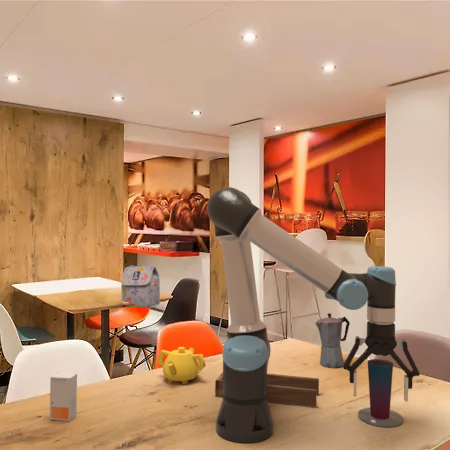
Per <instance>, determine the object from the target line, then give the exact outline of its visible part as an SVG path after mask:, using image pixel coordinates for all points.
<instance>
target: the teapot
mask: <svg viewBox="0 0 450 450" xmlns="http://www.w3.org/2000/svg"><path fill="white" fill-rule="evenodd" d="M195 351H196V349H195V348H193V347H189V349H186V347H184V346H179V347H177V349H174V350H171V351H169V350H165V349H161V350H160V352H159V355H158V358H157V364H159V366H160V367H161V368H162V373H163V375H164V376H165V377H166V378H167V382H168V383H174V382H175V381H176V382H181V384H182V385H188V384H189V381H191V380H194V379H196V377H197V376H198V375H199V374H200V372H201V371H202V370H204V369H205V367H207V365H206V361H205V359H204V354H202V353H199V354H197V353H196V354H195ZM165 357H166V358H165Z"/></svg>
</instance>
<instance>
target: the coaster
mask: <svg viewBox="0 0 450 450" xmlns="http://www.w3.org/2000/svg"><path fill="white" fill-rule="evenodd" d="M357 417H358V419H360V421H362V422H363V423H365V424H367V425H370V426H374V427H377V428H378V427H379V428H395V427H399V426H402V425H403V423H404V418H403V416H402V414H400V413H398V412H397V411H393V410H391V409H390V415H389V418H388V419H376V418H374V417H372V416H371V412H370V407H364V408H361V409H360V410H359V411H358V412H357Z"/></svg>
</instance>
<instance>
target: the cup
mask: <svg viewBox="0 0 450 450" xmlns="http://www.w3.org/2000/svg"><path fill="white" fill-rule="evenodd" d="M393 369H394V362H392V361H390V360H387V359H381V358H372V359H368V360H367V374H368V392H369V394H368V395H369V408H370V412H371V416H372V417H374V418H376V419H388V418H389V415H390V410H391V400H392V398H391V397H392V384H393V372H394V371H393Z"/></svg>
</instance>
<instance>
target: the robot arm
mask: <svg viewBox="0 0 450 450" xmlns="http://www.w3.org/2000/svg"><path fill="white" fill-rule="evenodd" d="M206 205H207V206H206V212H207V215H208V218H209V220H210V221H211V223H212V224H213V228H214V236H215V238H216V240H218V241H219V242H220V243H221V244H220V245H221V250H222V258H223V268H224V274H225V276H224V277H225V284H226V291H227V298H228V299H227V300H228V308H229V309H228V310H229V315H230V324H229V325H228V327H227V328H226V334H227V340H226V341H225V342H224V344H223V349H222V353H221V354H222V355H221V356H222V372H223V397H222V401H221V404H220V407H219V410H218V414H217V416H216V420H215V432H216V433H217V435H218V436H220V437H221V438H223V439H224V440H228V441H231V442H236V443H243V444H244V443H256V442H261V441H264V440H267V439H268V438H269V437H270V438H271V436H272V435H273V434H274V419H273V417H272V412H271V410H270V407H269V404H268V403H269V402H267V374H268V365H269V361H270V360H269V359H270V357H271V344H270V341H269V339H268V332H267V325H266V323H265V322H264V321H262V319H261V317H260V316H261V315H260V308H259V307H260V306H259V300H258V292H257V285H256V284H257V283H256V276H255V267H254V259H253V258H254V257H253V251H252V244H253V245H255V247H256V246H257V247H258V248H260V249H261V250H262V251H264V252H265V253H267V254H268V255H270V256H271V257H272V258H274V259H275V260H277V261H278V262H279V263H281V264H283V265H284V266H285V267H287V268H289V269H290V270H291V271H293V272H295V273H296V274H297V275H298V276H300V277H302V278H303V279H305V280H306V281H307V282H309V283H310V284H311V285H313V286H315V287H316V288H317V289H320V290H321V291H322V292H323V293H324V297H325V298H326V299H329V300H335V301H336V302H338V304H339V305H340V306H342V307H343V308H345V309H346V310H350V311H354V310H355V311H357V310H359V309H361V308H363V307H365V306H366V305H367V306H366V308H367V309H366V319H367V322H366V336H365V338H362V337H360V336H358V335H357V336H355V340H354V344H353V346H352V348H351V350H350V352H349V354H348V355H347V356H346V358H345V360H344V361H343V362H344V364H343V366H342V367H343V369H344V370H346V371H348V372H349V383H350V384H353V397H357V377H358V376H357V375H358V372H357V369H358V368H359V367H360V366H361V365H362V364H363V363H364V362H365V360H367V359H368V358H369V357H370V356H371V355H375V356H383V357H387V356H389V355H390V357H391V358H392V359H393V360H394V361H395V363H396V364H397V365H398V366H399V368H401V370H402V371H403V372H404V373H405V374H404V375H403V377H404V378H403V399H404V402H407V403H408V402H409V390H412V389H413V378H414V377H419V376H420V374H421V373H420V371H419V369H418V367H417V365H416V363H415V361H414V359H413V357H412V355H411V353H410V351H409V349H408V347H409V346H408V342H407V340H406V339H402V340H396V324H395V321H396V287H397V286H396V285H397V281H396V280H397V278H396V270H395V269H394V268H393V267H390V266H378V265H376V266H368V268H367V271H366V273H365V272H364V273H352V272H347V271H345V270H344V269H343V268H341V267H339V266H338V265H336V264H335V263H334V262H332V261H330V260H329V258H327V257H325V256H323V255H322V254H320V253H319V252H317V251H316V250H314V249H313V248H312V247H310V246H308V245H307V244H305V243H304V242H303V241H301V240H300V239H298V238H297V237H296V236H294V235H293V234H291V233H289V232H288V231H287V230H285V229H284V228H282V227H280V226H279V225H277V224H276V223H275V222H273V221H272V220H270V219H268V218H267V217H266V216H264V215H263V214H262V210H261V209H260V208H259V207H258V206H256V205H254V203H252V200H251V199H250V197H249V196H248V195H247V194H246V193H245V192H244V191H241V190H239V189H237V188H234V187H229V186H227V187H221V188H218V189H217V190H215V191H214V192H213V193H212V194H211V196H210V197H209V198H208V201H207V204H206ZM363 344H365V345H366V347H367V348H366V349H365V350H364V352H362V353H361V355H359V357H357V358H356V359H355V361H354V362H352V361H353V359H354V358H355V355H356V353H357V352H358V351H359V348H360V347H362V345H363ZM397 346H398V347H399V349H400V350H402V351H403V353H404V355H405V357H406V359H407V361H408V363H409V365H410V367H411V369H412V370H410V368H408V365H406V364H405V363H404V362H403V361H404V360H402V358H400V357H399V356H398V354H397V353H396V351H395V350H394V349H396V348H397ZM351 363H352V364H351Z"/></svg>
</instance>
